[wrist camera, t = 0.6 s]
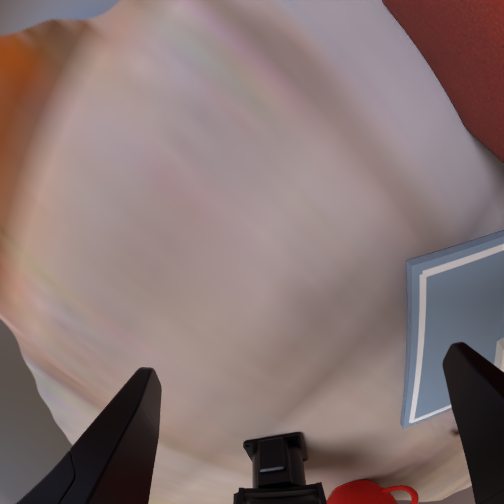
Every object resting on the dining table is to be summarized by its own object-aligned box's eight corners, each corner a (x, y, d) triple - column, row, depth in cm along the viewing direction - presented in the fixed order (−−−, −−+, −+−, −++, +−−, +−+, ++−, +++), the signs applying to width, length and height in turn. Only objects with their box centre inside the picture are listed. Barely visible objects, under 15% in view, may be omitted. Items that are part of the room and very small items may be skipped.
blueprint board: (532, 359, 29) (536, 364, 28) (400, 422, 31) (403, 429, 30) (564, 208, 21) (570, 211, 20) (406, 260, 23) (412, 266, 22)
